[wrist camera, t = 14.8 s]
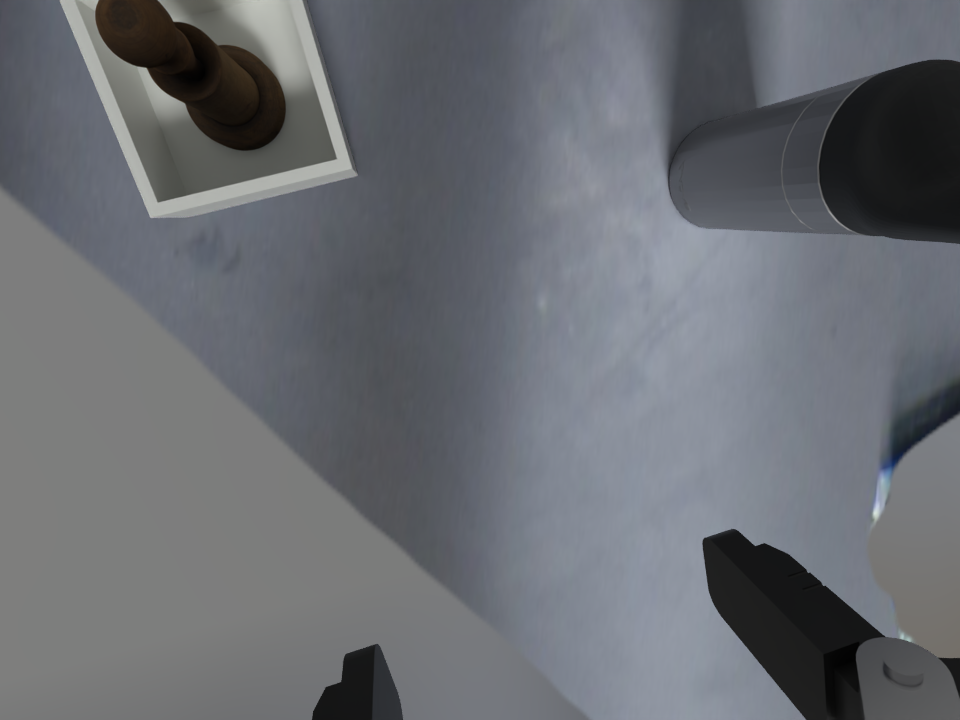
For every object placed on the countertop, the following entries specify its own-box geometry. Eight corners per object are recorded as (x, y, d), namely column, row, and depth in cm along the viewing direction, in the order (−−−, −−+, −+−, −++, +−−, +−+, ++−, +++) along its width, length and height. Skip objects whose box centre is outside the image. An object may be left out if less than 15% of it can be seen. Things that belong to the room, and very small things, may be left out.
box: (302, -16, 39) (283, -64, 32) (358, 175, 43) (352, 168, 36) (112, 24, 37) (52, -17, 31) (189, 217, 41) (150, 217, 35)
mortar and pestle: (188, 50, 38) (17, -86, 21) (282, 56, 39) (195, -70, 22) (199, 149, 39) (51, 100, 22) (289, 152, 40) (214, 107, 23)
